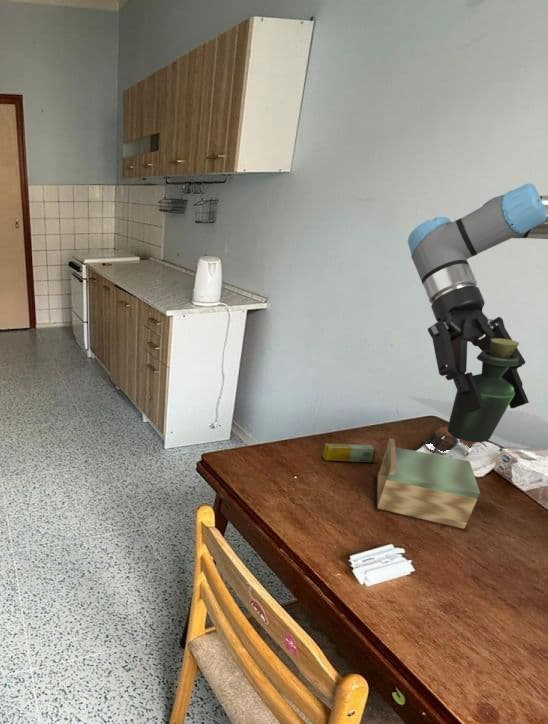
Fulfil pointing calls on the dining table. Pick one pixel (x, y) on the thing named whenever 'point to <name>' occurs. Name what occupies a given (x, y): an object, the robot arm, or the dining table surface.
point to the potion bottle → (486, 394)
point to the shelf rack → (427, 486)
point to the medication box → (349, 452)
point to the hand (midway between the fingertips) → (498, 407)
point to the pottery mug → (445, 440)
